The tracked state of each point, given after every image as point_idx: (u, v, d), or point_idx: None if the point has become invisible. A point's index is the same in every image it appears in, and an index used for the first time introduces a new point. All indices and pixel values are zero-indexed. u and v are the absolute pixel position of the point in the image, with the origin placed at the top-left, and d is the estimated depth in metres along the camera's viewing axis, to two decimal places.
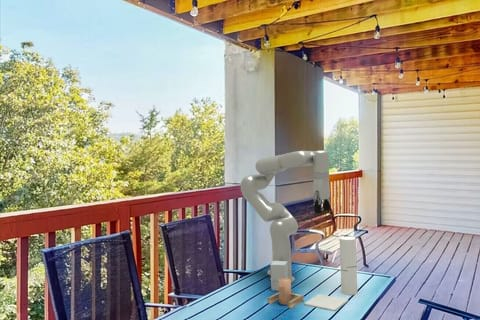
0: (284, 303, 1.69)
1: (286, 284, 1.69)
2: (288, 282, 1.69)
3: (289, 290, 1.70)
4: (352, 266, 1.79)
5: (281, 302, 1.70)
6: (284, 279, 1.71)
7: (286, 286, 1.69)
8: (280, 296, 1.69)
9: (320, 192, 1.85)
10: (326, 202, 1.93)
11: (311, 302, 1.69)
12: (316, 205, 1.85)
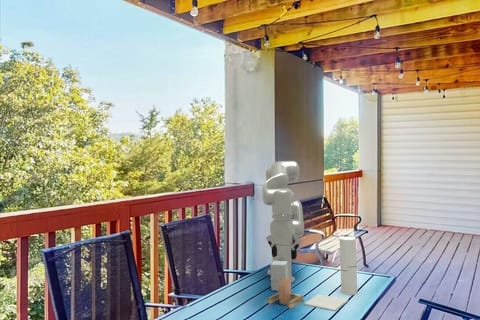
0: (284, 303, 1.69)
1: (286, 284, 1.69)
2: (288, 282, 1.69)
3: (289, 290, 1.70)
4: (352, 266, 1.79)
5: (281, 302, 1.70)
6: (284, 279, 1.71)
7: (286, 286, 1.69)
8: (280, 296, 1.69)
9: (294, 235, 1.70)
10: (275, 247, 1.74)
11: (311, 302, 1.69)
12: (295, 250, 1.68)
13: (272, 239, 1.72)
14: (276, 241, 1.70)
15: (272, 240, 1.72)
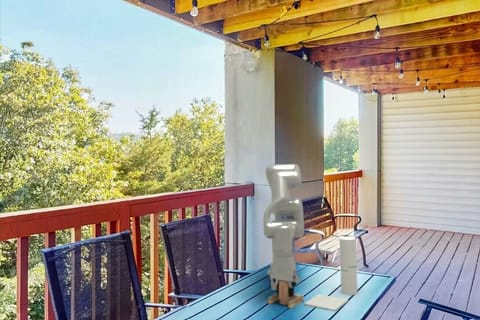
0: (284, 303, 1.69)
1: (286, 284, 1.69)
2: None
3: None
4: (352, 266, 1.79)
5: (281, 302, 1.70)
6: None
7: (286, 286, 1.69)
8: (280, 296, 1.69)
9: None
10: None
11: (311, 302, 1.69)
12: (292, 288, 1.69)
13: (273, 274, 1.72)
14: (277, 276, 1.71)
15: (273, 275, 1.72)
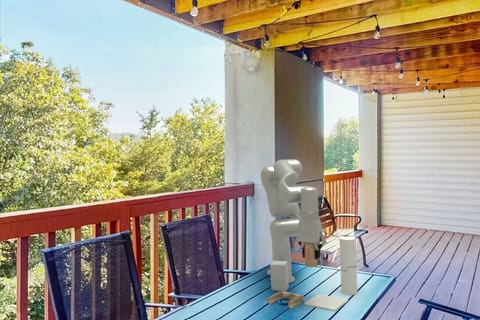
0: (310, 265, 1.68)
1: (312, 247, 1.68)
2: None
3: None
4: (352, 266, 1.79)
5: (307, 265, 1.69)
6: None
7: (312, 249, 1.68)
8: (306, 258, 1.67)
9: None
10: None
11: (311, 302, 1.69)
12: (318, 250, 1.68)
13: (299, 237, 1.71)
14: (303, 239, 1.69)
15: (299, 238, 1.71)
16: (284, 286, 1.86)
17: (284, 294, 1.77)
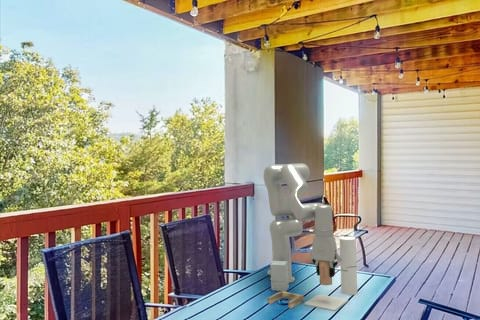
0: (325, 284, 1.67)
1: (327, 264, 1.67)
2: None
3: None
4: (352, 266, 1.79)
5: (322, 283, 1.68)
6: None
7: (327, 266, 1.67)
8: (321, 276, 1.66)
9: (336, 251, 1.68)
10: None
11: (311, 302, 1.69)
12: (333, 268, 1.67)
13: (313, 254, 1.70)
14: (318, 257, 1.69)
15: (313, 255, 1.70)
16: (284, 286, 1.86)
17: (284, 294, 1.77)
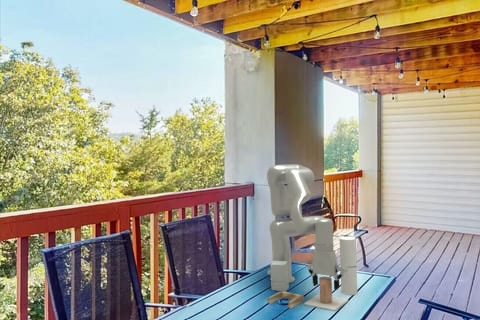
0: (325, 302, 1.67)
1: (327, 283, 1.67)
2: (329, 281, 1.67)
3: (330, 288, 1.68)
4: (352, 266, 1.79)
5: (322, 301, 1.68)
6: (325, 278, 1.69)
7: (328, 285, 1.67)
8: (321, 295, 1.67)
9: (337, 265, 1.68)
10: (316, 276, 1.73)
11: (311, 302, 1.69)
12: (338, 280, 1.66)
13: (314, 268, 1.70)
14: (318, 270, 1.69)
15: (314, 269, 1.70)
16: (284, 286, 1.86)
17: (284, 294, 1.77)
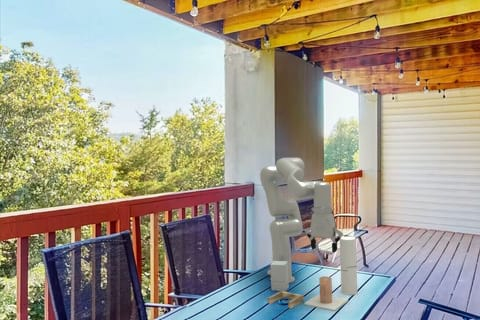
0: (325, 302, 1.67)
1: (327, 283, 1.67)
2: (329, 281, 1.68)
3: (330, 288, 1.68)
4: (352, 266, 1.79)
5: (322, 301, 1.68)
6: (325, 278, 1.69)
7: (328, 285, 1.67)
8: (321, 295, 1.67)
9: None
10: (314, 240, 1.73)
11: (311, 302, 1.69)
12: (336, 243, 1.67)
13: (312, 232, 1.71)
14: (316, 234, 1.69)
15: (312, 233, 1.71)
16: (284, 286, 1.86)
17: (284, 294, 1.77)
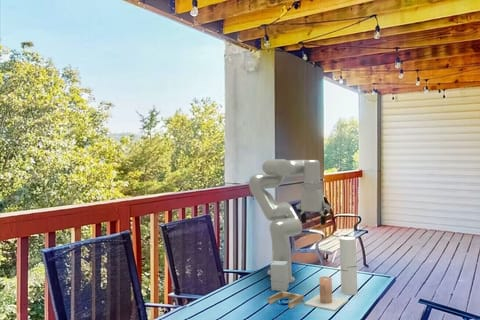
0: (325, 302, 1.67)
1: (327, 283, 1.67)
2: (329, 281, 1.68)
3: (330, 288, 1.68)
4: (352, 266, 1.79)
5: (322, 301, 1.68)
6: (325, 278, 1.69)
7: (328, 285, 1.67)
8: (321, 295, 1.67)
9: None
10: (304, 214, 1.85)
11: (311, 302, 1.69)
12: (324, 216, 1.78)
13: (302, 206, 1.82)
14: (306, 208, 1.81)
15: (302, 207, 1.82)
16: (284, 286, 1.86)
17: (284, 294, 1.77)
